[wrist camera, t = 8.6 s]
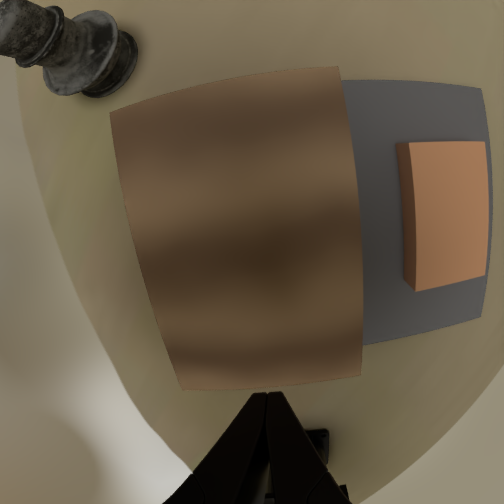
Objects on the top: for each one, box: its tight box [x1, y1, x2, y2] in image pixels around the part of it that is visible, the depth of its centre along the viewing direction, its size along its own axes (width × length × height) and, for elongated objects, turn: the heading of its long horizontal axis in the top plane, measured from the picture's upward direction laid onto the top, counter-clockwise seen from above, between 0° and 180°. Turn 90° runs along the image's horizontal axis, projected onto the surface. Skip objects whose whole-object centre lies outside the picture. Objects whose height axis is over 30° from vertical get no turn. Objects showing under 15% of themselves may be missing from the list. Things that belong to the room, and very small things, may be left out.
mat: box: [341, 80, 493, 345], centre depth 17 cm, size 18×12×1 cm, turn 9°
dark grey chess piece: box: [0, 0, 138, 98], centre depth 10 cm, size 6×6×12 cm
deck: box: [110, 66, 363, 390], centre depth 17 cm, size 18×12×4 cm, turn 9°
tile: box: [396, 141, 489, 292], centre depth 16 cm, size 9×6×2 cm, turn 10°
